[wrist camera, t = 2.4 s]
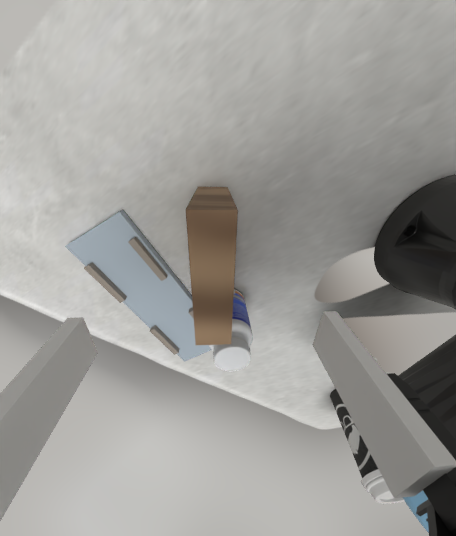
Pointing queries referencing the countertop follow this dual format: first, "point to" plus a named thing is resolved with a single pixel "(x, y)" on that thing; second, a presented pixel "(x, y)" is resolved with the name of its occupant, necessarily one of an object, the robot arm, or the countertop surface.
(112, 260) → the ledge
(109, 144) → the countertop surface
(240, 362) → the pill bottle
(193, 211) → the frame
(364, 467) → the coffee cup
